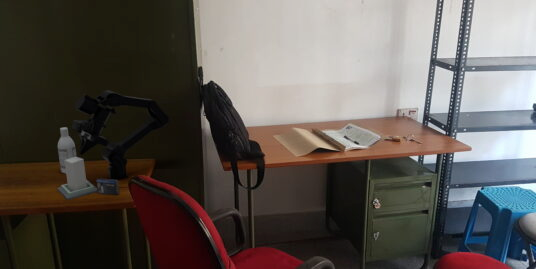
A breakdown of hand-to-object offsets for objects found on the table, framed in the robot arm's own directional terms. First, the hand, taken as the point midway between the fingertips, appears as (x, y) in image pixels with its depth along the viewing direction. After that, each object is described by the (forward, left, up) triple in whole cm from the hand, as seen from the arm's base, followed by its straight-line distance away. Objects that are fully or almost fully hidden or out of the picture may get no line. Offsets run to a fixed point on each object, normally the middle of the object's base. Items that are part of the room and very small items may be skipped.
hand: (80, 154), depth 173 cm
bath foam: (-1, -21, -14) cm, 25 cm away
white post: (+3, +2, -13) cm, 14 cm away
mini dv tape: (-5, +13, -14) cm, 20 cm away
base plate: (+3, +2, -14) cm, 15 cm away
